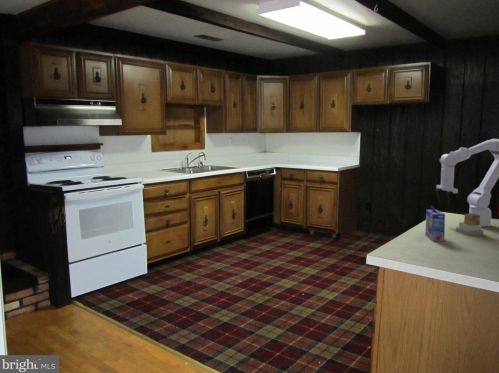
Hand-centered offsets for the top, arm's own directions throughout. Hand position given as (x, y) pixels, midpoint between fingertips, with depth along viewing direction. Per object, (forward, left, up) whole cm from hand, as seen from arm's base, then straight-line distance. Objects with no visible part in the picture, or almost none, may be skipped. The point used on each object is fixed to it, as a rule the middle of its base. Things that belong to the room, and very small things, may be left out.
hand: (445, 205), depth 204 cm
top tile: (-3, +15, -8) cm, 17 cm away
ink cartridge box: (+18, +20, -11) cm, 29 cm away
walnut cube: (-3, +16, -6) cm, 17 cm away
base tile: (-3, +15, -11) cm, 19 cm away
